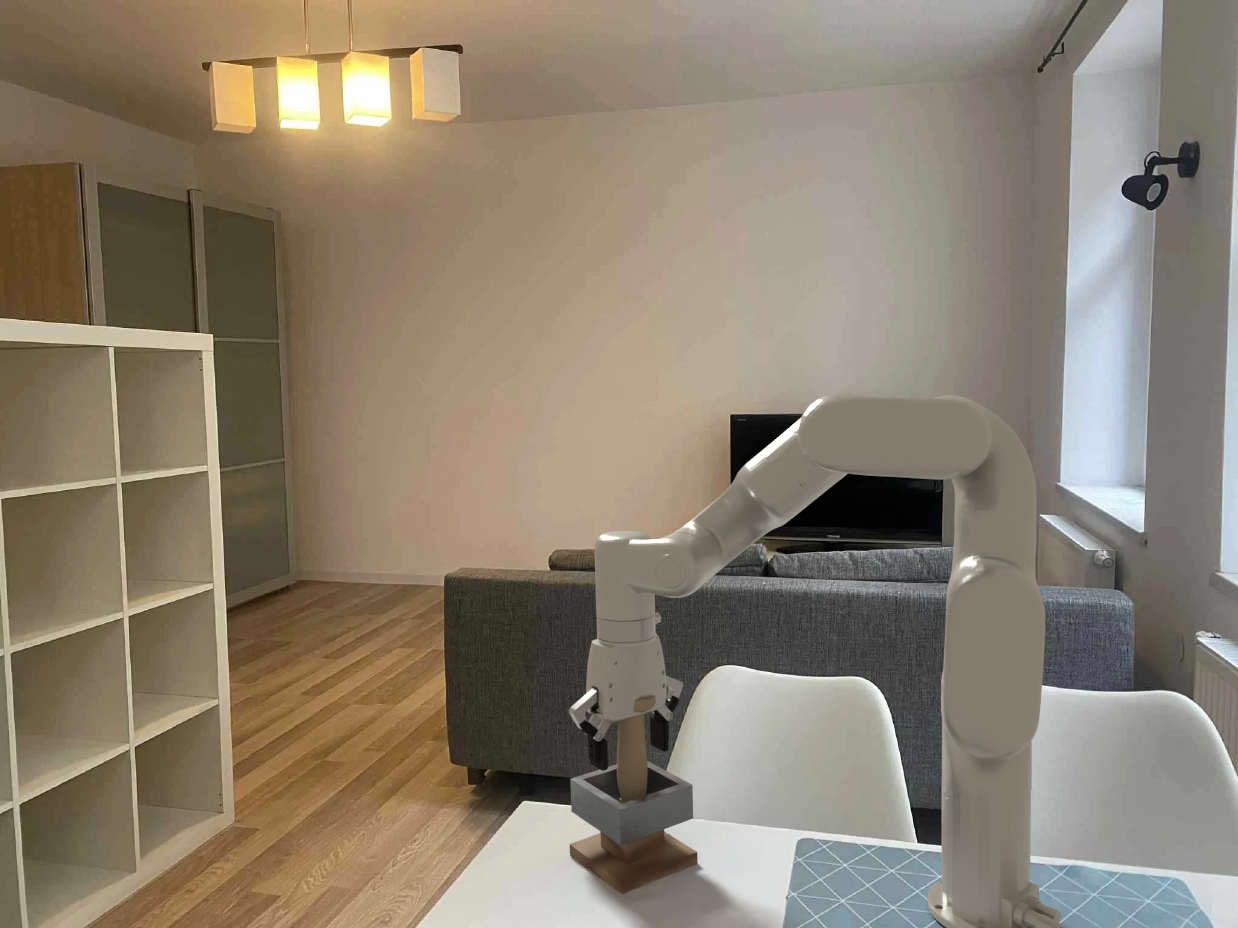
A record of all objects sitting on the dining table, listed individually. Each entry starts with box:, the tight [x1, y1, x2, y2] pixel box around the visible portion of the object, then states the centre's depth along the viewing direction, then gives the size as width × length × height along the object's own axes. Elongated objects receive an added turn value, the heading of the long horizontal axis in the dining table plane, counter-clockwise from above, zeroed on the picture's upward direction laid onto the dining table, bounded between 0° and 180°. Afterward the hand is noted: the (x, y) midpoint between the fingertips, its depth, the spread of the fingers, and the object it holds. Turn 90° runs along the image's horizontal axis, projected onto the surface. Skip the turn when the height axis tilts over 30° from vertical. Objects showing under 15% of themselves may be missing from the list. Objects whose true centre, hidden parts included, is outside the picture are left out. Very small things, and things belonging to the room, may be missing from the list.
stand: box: [569, 829, 699, 895], centre depth 122 cm, size 12×12×6 cm
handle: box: [616, 696, 656, 804], centre depth 121 cm, size 5×6×15 cm
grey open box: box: [569, 760, 694, 845], centre depth 122 cm, size 11×11×4 cm
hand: (629, 757), depth 121 cm, fingers open, 9 cm apart
